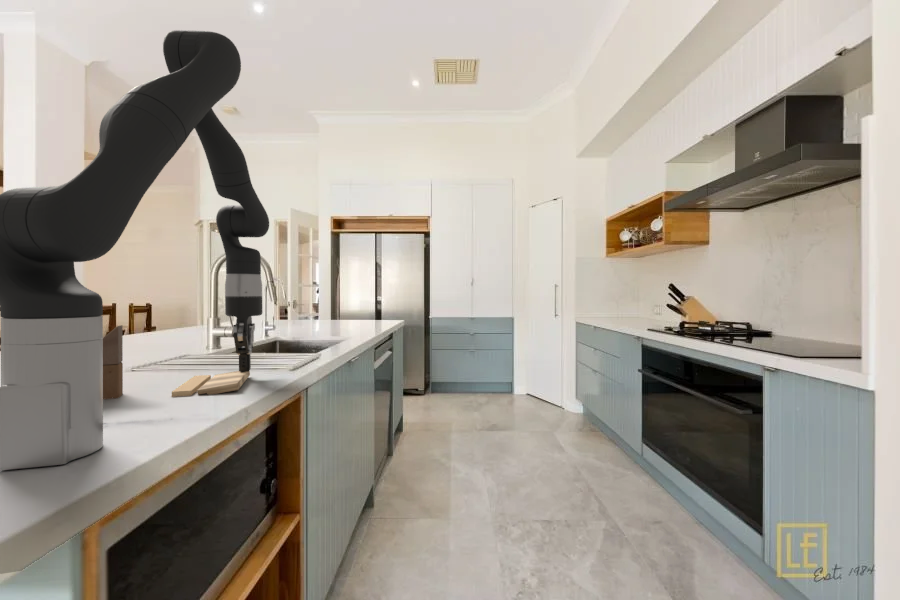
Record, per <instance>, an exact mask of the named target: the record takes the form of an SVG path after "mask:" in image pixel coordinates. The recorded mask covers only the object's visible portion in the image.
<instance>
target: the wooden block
mask: <svg viewBox="0 0 900 600" xmlns="http://www.w3.org/2000/svg"><path fill="white" fill-rule="evenodd" d="M123 353H124V352H123V324H120V325H117V326H115V327H114V328H113V329H112V330H111V331H109V332H108V333H107V334H106V335H104V336H103V400H112V399H119V398H121V397H122V396H123V392H124V391H123V389H124V388H123V387H124V386H123V385H124V384H123V378H124V377H123V373H124V371H123V368H124V367H123V364H124V363H123V362H124V361H123V357H124V356H123Z"/></svg>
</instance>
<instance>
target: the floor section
mask: <svg viewBox="0 0 900 600" xmlns="http://www.w3.org/2000/svg"><path fill="white" fill-rule="evenodd" d="M211 375H212V374H206V375H205V374H204V375H203V374H202V375H193V376H192V377H191V378H189V379H188V380H187V381H185V382H184V383H182V384H181V385H179V386H178V387H176V388H175V389H174V390H172V391H171V398H174V397H188V396H189V397H190V396H193V395H195V393H196V392H197V390H198V389H199V388H200V387H201V386H203V385H204V384H205V383H206V382H207V381H209V380H210V379H211V378H212V376H211Z"/></svg>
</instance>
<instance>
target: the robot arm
mask: <svg viewBox="0 0 900 600" xmlns="http://www.w3.org/2000/svg"><path fill="white" fill-rule="evenodd" d="M162 52H163V56H164V61H165V64H166V68H167V70H168V72H169V73H167V74H165V75H162V76H159V77H155V78H153V79H151V80H148V81H146V82H143V83H141V84H138V85H137V86H135V87H132V88H131V89H130V90H129V91H127V92H126V93H125V94H124V95H122V96H121V97H120V99H118V101H116V102H115V103H114V104H113V105H112V106H111V107H110V108H109V109H108V110H107V112H106V113H105V114H104V116H103V117H102V119H101V122H100V125H99V133H98V135H99V136H98V139H99V150H98V153H97V155H95V157H94V159H93V160H92V161H91V162H90V163H88V165H86V167H85V168H84V169H83V170H82V171H80V172H79V173H78V174H77V175H75V177H74V178H72V179H71V180H69V181H68V182H66V183H64V184H61V185H58V186H33V187H32V186H31V187H27V186H26V187H17V188H12V189H8V190H5V191H3V192H1V194H0V471H7V470H18V469H29V468H38V467H40V468H41V467H49V466H51V467H52V466H57V465H58V466H59V465H65V464H68V463H69V462H71V461H73V460H76V459H80V458H83V457H85V456H88V455H90V454H93V453H95V452H97V451H98V450H100V449H101V448H103V446H104V415H103V414H104V411H103V410H104V408H103V407H104V399H103V338H104V333H103V332H104V331H103V329H104V327H103V326H104V325H103V324H104V319H103V318H104V316H103V315H104V314H103V311H104V309H103V307H104V306H103V299H102V296H101V294H99V293H98V292H96V291H93V290H91V289H89V288H87V287H85V286H84V285H83V284H82V283H81V282H80V281H79V279H78V278H77V277H76V272H75V271H76V270H75V263H81V262H84V263H85V262H88V261H89V262H90V261H94V260H96V259H99V258H100V257H103V256H105V255H106V254H107V253H109V251H111V250H112V248H114V246H115V245H116V244H117V242H118V241H119V240H120V237H122V235H123V233H124V232H125V229H126V228H127V225H128V224H129V222H130V220H131V218H132V216H133V214H134V213H135V211H136V209H137V208H138V206H139V204H140V202H141V200H142V199H143V197H144V195H145V194H146V192H147V191H148V190H149V189H150V188H151V186H152V185H153V183H154V182H155V181H156V179H157V178H158V176H159V175H160V174H161V172H162V171H163V169H164V168H165V167H166V166H167V164H168V163H169V162H170V161H171V160H172V159H173V157H174V156H175V155H176V154H177V152H178V151H179V150H180V148H181V147H182V146H183V145H184V143H185V142H186V140H187V139H188V137H189V136H190V135H191V133H192V132H193V131H194V130H195V132H196V135H197V136H198V139H199V141H200V143H201V145H202V148H203V151H204V155H205V156H206V159H207V164H208V166H209V169H210V173H211V177H212V180H213V183H214V186H215V187H214V188H215V191H216V192H217V195H219V196H220V197H222V198H224V199H227V200H232V201H234V202H237V203H238V204H239V205H224V206H221V207H220V209H219V210H218V211H217V213H216V217H215V222H216V227H217V231H218V233H219V235H220V240H221V243H222V246H223V250H224V254H225V283H224V298H225V299H224V300H225V301H224V302H225V303H224V306H225V307H224V308H225V309H224V310H225V313H224V314H225V316H227V317H235V318H236V320H235V321H236V323H235V324H233V327H232V328H233V329H232V330H233V331H232V332H233V334H232V337H233V341H234V346H235V353H236V355H237V356H238V371H240V372H248V371H250V370H251V368H252V367H251V361H252V359H251V358H252V357H251V354H252V352H253V349H254V346H253V344H254V342H255V335H254V334H255V331H256V324H255V323H253V317H257V316H258V317H259V316H261V315H263V281H262V276H261V275H262V272H261V271H262V270H261V269H262V268H261V267H262V262H261V261H262V259H261V257H262V256H261V253H260V251H259V250H258V249H256V248H252V247H247V246H243V245H242V244H241V242H240V239H239V238H262V237H265V235H266V234H267V233H268V231H269V229H270V219H269V215H268V213H267V210H266V209H265V207H264V206H263V203H262V201H261V200H260V198H259V196H258V194H257V193H256V190H255V189H254V186H253V184H252V180H251V177H250V176H251V175H250V173H249V172H250V171H249V168H248V164H247V160H246V157H245V154H244V152H243V150H242V149H241V146H240V145H239V143H238V142H237V141H236V139H234V136H232V135H231V133H230V132H229V131H228V129H227V128H226V127H225V126H224V124H223V123H222V122H221V121H220V119H219V117H218V115H216V113H215V112H214V110H213V108H214V106H215V105H216V104H217V103H218V102H220V101H221V100H222V99H223V98H225V96H227V94H229V92H231V91H232V90H233V89H234V88H235V87H236V85H237V83H238V81H239V78H240V76H241V70H242V68H241V67H242V61H241V56H240V53H239V50H238V48H237V45H235V43H234V42H233V40H231V39H230V38H228V37H227V36H226V35H224V34H221V33H219V32H214V31H209V30H206V31H205V30H182V29H181V30H180V29H175V30H171V31H169V32H167V33H166V35H165V37H164V39H163V42H162Z"/></svg>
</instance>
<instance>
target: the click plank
mask: <svg viewBox="0 0 900 600" xmlns="http://www.w3.org/2000/svg"><path fill="white" fill-rule="evenodd" d="M250 376H251V372H250V370H249V371H248V372H240V371H239V370H236V371H228V372H224V373H218V374H214V376H211V379H210V380H209V381H207V382H206V383H205V384H204V385H203V386H201V387H200V388H199V389H198V390H197V391H196V392H197V393H196V394H197V395H204V394H207V396H209V395H217V394H222V393H229V392H233V391H239V390H240V389H241V387H242V386H243V385H244V383H245V382H246V380H248V378H249V377H250Z"/></svg>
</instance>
